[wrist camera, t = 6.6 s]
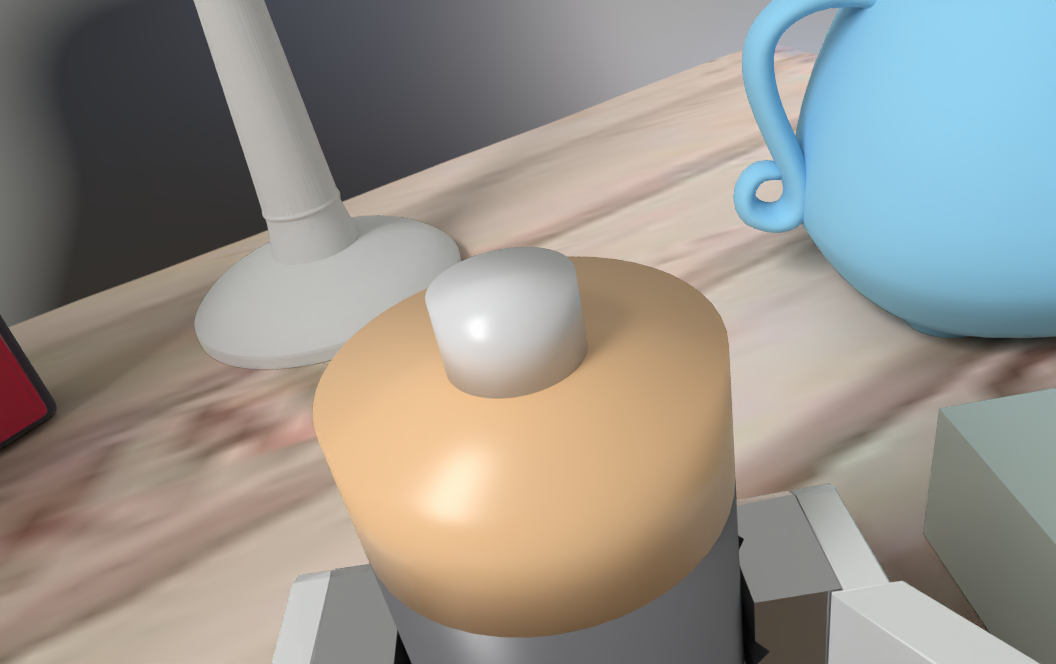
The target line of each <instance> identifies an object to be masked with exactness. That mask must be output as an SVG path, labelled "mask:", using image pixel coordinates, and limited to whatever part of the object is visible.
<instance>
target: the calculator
mask: <svg viewBox="0 0 1056 664" xmlns="http://www.w3.org/2000/svg"><path fill="white" fill-rule="evenodd" d="M55 412H56V403H55V401H54V400H53V398H52V396H51V395H50V393H49V392H48V390H47V388H46V387H45V385H44V384H43V382H42V380H41V379H40V377H39V376H38V374H37V372H36V371H35V369H34V368H33V366H32V365H31V363H30V361H29V360H28V358H27V357H26V355H25V353H24V352H23V350H22V349H21V347H20V346H19V344H18V342H17V341H16V339H15V338H14V336H13V334H12V333H11V331H10V330H9V328H8V326H7V325H6V323H5V322H4V320H3V319H2V317H1V315H0V449H1V448H2V447H4V446H6V445H7V444H9V443H11V442H12V441H14V440H15V439H17V438H19V437H20V436H22V435H23V434H25V433H27V432H28V431H30V430H32V429H33V428H35V427H36V426H38V425H40V424H41V423H43V422H44V421H46V420H48V419H49V418H51V417H52V416H53V415H54V413H55Z"/></svg>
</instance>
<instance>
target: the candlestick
mask: <svg viewBox="0 0 1056 664" xmlns="http://www.w3.org/2000/svg"><path fill="white" fill-rule="evenodd" d="M194 2H195V5H196V8H197V11H198V14H199V18H200V21H201V24H202V27H203V30H204V33H205V36H206V39H207V42H208V45H209V48H210V51H211V54H212V57H213V60H214V63H215V66H216V69H217V72H218V75H219V79H220V82H221V84H222V87H223V90H224V94H225V97H226V100H227V103H228V106H229V109H230V112H231V115H232V118H233V121H234V124H235V127H236V130H237V133H238V136H239V140H240V143H241V145H242V149H243V152H244V155H245V158H246V161H247V164H248V167H249V170H250V173H251V176H252V179H253V183H254V186H255V189H256V192H257V195H258V199H259V202H260V205H261V208H262V215H263V217H264V218H265V219H266V222H267V226H268V232H269V239H270V242H269V243H267V244H265V245H263V246H261V247H259V248H258V249H256V250H255V251H253V252H251V253H250V254H248V255H247V256H245V257H244V258H242V259H241V260H239V261H238V262H237V263H236V264H234V265H233V266H232V267H231V268H229V269H228V270H227V271H226V272H225V273H224V274H223V275H222V276H221V277H220V278H219V279H218V280H217V281H216V282H215V284H214V285H213V286H212V287H211V289H210V290H209V291H208V293H207V294H206V296H205V297H204V299H203V300H202V302H201V304H200V306H199V308H198V310H197V313H196V316H195V321H194V327H195V333H196V336H197V338H198V340H199V342H200V344H201V346H202V348H203V349H204V351H205V352H206V353H207V354H208V355H209V356H211V357H212V358H214V359H215V360H217V361H219V362H222V363H224V364H227V365H231V366H235V367H240V368H247V369H285V368H293V367H301V366H307V365H312V364H317V363H321V362H325V361H329V360H332V359H333V357H334V356H335V355H336V354H337V352H338V351H339V350H340V349H341V347H342V346H343V345H344V344H345V343H346V342H347V341H348V340H349V339H350V338H351V337H352V336H353V335H354V334H355V333H356V332H358V331H359V330H360V329H361V328H362V327H364V326H365V325H366V324H367V323H368V322H370V321H371V320H372V319H374V318H375V317H377V316H378V315H380V314H381V313H383V312H384V311H385V310H387V309H388V308H390V307H392V306H394V305H395V304H397V303H399V302H401V301H402V300H404V299H406V298H408V297H410V296H412V295H414V294H416V293H418V292H420V291H422V290H424V289H426V288H428V287H429V286H430V284H431V283H432V282H433V280H434V279H435V278H436V277H437V276H439V275H440V274H441V273H442V272H444V271H445V270H447V269H448V268H450V267H451V266H453V265H455V264H457V263H459V262H461V261H462V260H461V256H460V252H459V248H458V246H457V244H456V243H455V241H454V240H453V239H452V238H451V237H450V236H449V235H448V234H446V233H445V232H443V231H441V230H440V229H438V228H436V227H433V226H431V225H428V224H426V223H423V222H420V221H417V220H413V219H408V218H404V217H395V216H380V215H377V216H358V217H350V215H349V214H348V212H347V210H346V209H345V207H344V205H343V203H342V201H341V199H340V192H339V190H338V189H337V188H336V185H335V183H334V180H333V178H332V175H331V173H330V170H329V167H328V165H327V163H326V160H325V157H324V155H323V152H322V150H321V147H320V145H319V142H318V139H317V137H316V134H315V132H314V129H313V126H312V124H311V121H310V119H309V116H308V114H307V111H306V108H305V106H304V103H303V101H302V98H301V95H300V93H299V90H298V88H297V85H296V83H295V80H294V77H293V75H292V72H291V70H290V67H289V64H288V62H287V59H286V57H285V54H284V51H283V49H282V46H281V44H280V41H279V39H278V36H277V33H276V31H275V28H274V26H273V23H272V20H271V18H270V15H269V13H268V10H267V8H266V5H265V2H264V0H194Z"/></svg>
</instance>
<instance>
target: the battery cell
mask: <svg viewBox="0 0 1056 664" xmlns="http://www.w3.org/2000/svg"><path fill="white" fill-rule="evenodd" d="M313 424H314V428H315V431H316V435H317V438H318V441H319V443H320V446H321V448H322V450H323V453H324V455H325V458H326V460H327V462H328V465H329V467H330V470H331V472H332V474H333V477H334V479H335V482H336V484H337V486H338V489H339V491H340V493H341V496H342V498H343V501H344V503H345V505H346V508H347V510H348V513H349V515H350V517H351V520H352V522H353V525H354V527H355V529H356V532H357V534H358V537H359V539H360V541H361V544H362V546H363V548H364V551H365V553H366V556H367V558H368V560H369V563H370V565H371V568H372V570H373V572H374V575H375V577H376V580H377V582H378V584H379V587H380V589H381V592H382V594H383V596H384V599H385V601H386V604H387V606H388V608H389V611H390V613H391V615H392V618H393V620H394V623H395V625H396V627H397V630H398V632H399V635H400V637H401V639H402V642H403V644H404V647H405V649H406V651H407V654H408V656H409V659H410V661H411V663H412V664H744V643H743V623H742V602H741V582H740V561H739V541H738V520H737V500H736V480H735V459H734V439H733V418H732V398H731V377H730V357H729V343H728V337H727V330H726V328H725V326H724V323H723V321H722V318H721V316H720V315H719V313H718V312H717V310H716V309H715V307H714V306H713V304H712V303H711V302H710V301H709V300H708V299H707V298H706V297H705V296H704V295H703V294H702V293H701V292H699V291H698V290H696V289H695V288H694V287H692V286H691V285H689V284H688V283H686V282H685V281H683V280H681V279H679V278H677V277H675V276H673V275H671V274H669V273H666V272H663V271H661V270H658V269H655V268H652V267H649V266H645V265H641V264H637V263H633V262H628V261H622V260H616V259H608V258H597V257H566V256H565V255H563V254H561V253H559V252H556V251H553V250H550V249H544V248H537V247H514V248H505V249H499V250H494V251H490V252H486V253H482V254H479V255H476V256H473V257H470V258H468V259H465V260H463V261H461V262H459V263H457V264H455V265H453V266H451V267H450V268H448V269H447V270H445V271H444V272H442V273H441V274H440V275H439V276H437V277H436V278H435V279H434V280H433V282H432V283H431V284H430V286H429V287H428V288H426V289H424V290H422V291H420V292H418V293H416V294H414V295H412V296H410V297H408V298H406V299H404V300H402V301H401V302H399V303H397V304H395V305H394V306H392V307H390V308H388V309H387V310H385V311H384V312H383V313H381V314H380V315H378V316H377V317H375V318H374V319H372V320H371V321H370V322H368V323H367V324H366V325H365V326H364V327H362V328H361V329H360V330H359V331H358V332H356V333H355V334H354V335H353V336H352V337H351V338H350V339H349V340H348V341H347V342H346V343H345V344H344V345H343V346H342V347H341V349H340V350H339V351H338V352H337V354H336V355H335V356H334V357H333V359H332V360H331V361H330V363H329V365H328V366H327V368H326V370H325V371H324V373H323V375H322V377H321V379H320V382H319V384H318V387H317V389H316V392H315V397H314V402H313Z"/></svg>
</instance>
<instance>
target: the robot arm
mask: <svg viewBox="0 0 1056 664" xmlns="http://www.w3.org/2000/svg"><path fill="white" fill-rule="evenodd" d="M737 520H738V541H739V561H740V582H741V602H742V623H743V643H744V661H745V664H1040V663H1038V662H1036V661H1035V660H1033V659H1031V658H1030V657H1028V656H1026V655H1025V654H1023V653H1022V652H1020V651H1018V650H1017V649H1015V648H1013V647H1012V646H1010V645H1008V644H1007V643H1005V642H1003V641H1002V640H1000V639H998V638H997V637H995V636H993V635H992V634H990V633H988V632H987V631H985V630H983V629H982V628H980V627H979V626H977V625H975V624H974V623H972V622H970V621H969V620H967V619H965V618H964V617H962V616H960V615H959V614H957V613H955V612H954V611H952V610H950V609H949V608H947V607H945V606H944V605H942V604H941V603H939V602H937V601H936V600H934V599H932V598H931V597H929V596H927V595H926V594H924V593H922V592H921V591H919V590H917V589H916V588H914V587H912V586H911V585H909V584H907V583H906V582H904V581H896V582H890V581H889V579H888V577H887V576H886V574H885V572H884V571H883V569H882V567H881V565H880V564H879V562H878V560H877V559H876V557H875V555H874V554H873V552H872V550H871V548H870V547H869V545H868V543H867V542H866V540H865V538H864V537H863V535H862V533H861V531H860V530H859V528H858V526H857V525H856V523H855V521H854V520H853V518H852V516H851V514H850V513H849V511H848V509H847V508H846V506H845V504H844V502H843V501H842V499H841V497H840V496H839V494H838V492H837V491H836V489H835V488H834V487H833V486H831V485H830V484H824V485H818V486H813V487H807V488H802V489H796V490H791V491H790V492H788V491H784V492H779V493H773V494H768V495H762V496H757V497H752V498H746V499H741V500H737ZM272 664H412V663H411V661H410V659H409V656H408V654H407V651H406V649H405V647H404V644H403V642H402V639H401V637H400V635H399V632H398V630H397V627H396V625H395V623H394V620H393V618H392V615H391V613H390V611H389V608H388V606H387V604H386V601H385V599H384V596H383V594H382V592H381V589H380V587H379V584H378V582H377V580H376V577H375V575H374V572H373V570H372V568H371V565H370V564H366V565H360V566H353V567H346V568H339V569H335V570H330V571H323V572H317V573H310V574H303V575H299V576H298V577H297V579H296V580H295V582H294V583H293V585H292V586H291V590H290V594H289V597H288V601H287V605H286V609H285V613H284V617H283V621H282V625H281V629H280V632H279V636H278V640H277V644H276V648H275V652H274V656H273V660H272Z"/></svg>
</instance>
